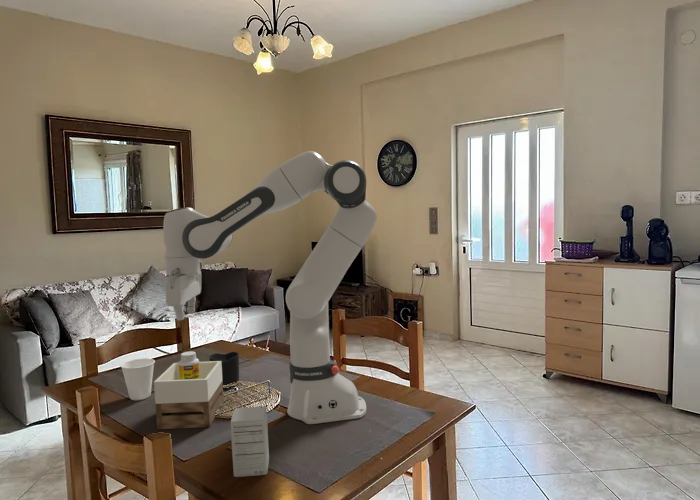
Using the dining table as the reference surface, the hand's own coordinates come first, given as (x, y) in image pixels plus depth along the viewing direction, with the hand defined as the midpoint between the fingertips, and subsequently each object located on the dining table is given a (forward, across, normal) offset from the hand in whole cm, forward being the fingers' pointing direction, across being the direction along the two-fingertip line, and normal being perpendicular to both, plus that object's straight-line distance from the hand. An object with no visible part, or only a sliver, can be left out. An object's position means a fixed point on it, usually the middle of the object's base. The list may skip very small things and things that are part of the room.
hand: (186, 316), depth 136 cm
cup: (+29, +16, +21) cm, 39 cm away
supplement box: (+29, -30, -22) cm, 47 cm away
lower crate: (+29, 0, 0) cm, 29 cm away
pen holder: (+29, +24, -4) cm, 38 cm away
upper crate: (+22, 0, 0) cm, 22 cm away
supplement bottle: (+21, 0, 0) cm, 21 cm away
